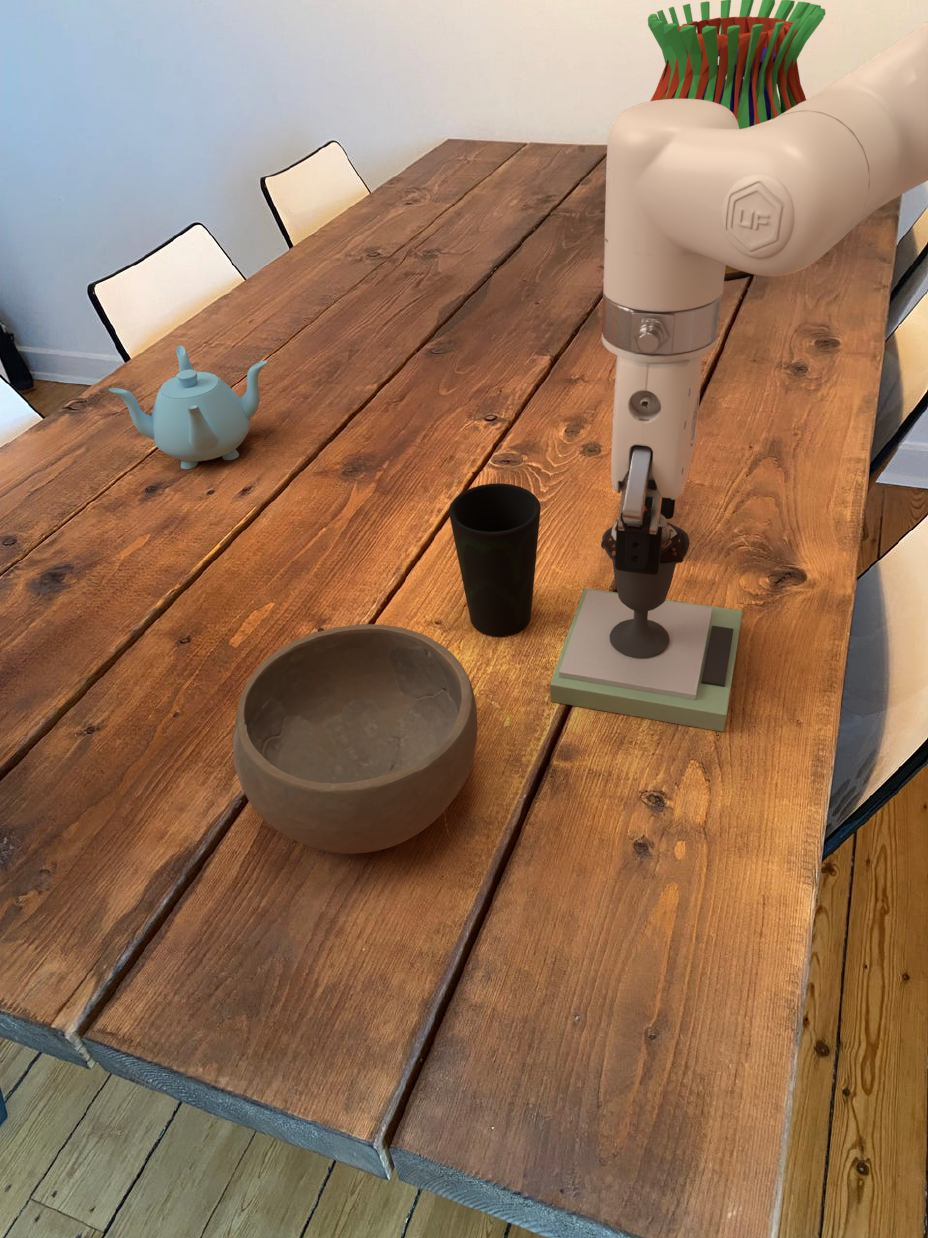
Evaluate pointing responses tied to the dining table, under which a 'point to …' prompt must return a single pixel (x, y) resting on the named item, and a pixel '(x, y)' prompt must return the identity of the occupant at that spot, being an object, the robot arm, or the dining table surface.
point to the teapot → (197, 414)
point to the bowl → (355, 737)
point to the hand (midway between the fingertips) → (645, 540)
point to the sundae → (645, 593)
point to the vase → (736, 57)
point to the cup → (497, 554)
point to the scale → (650, 663)
